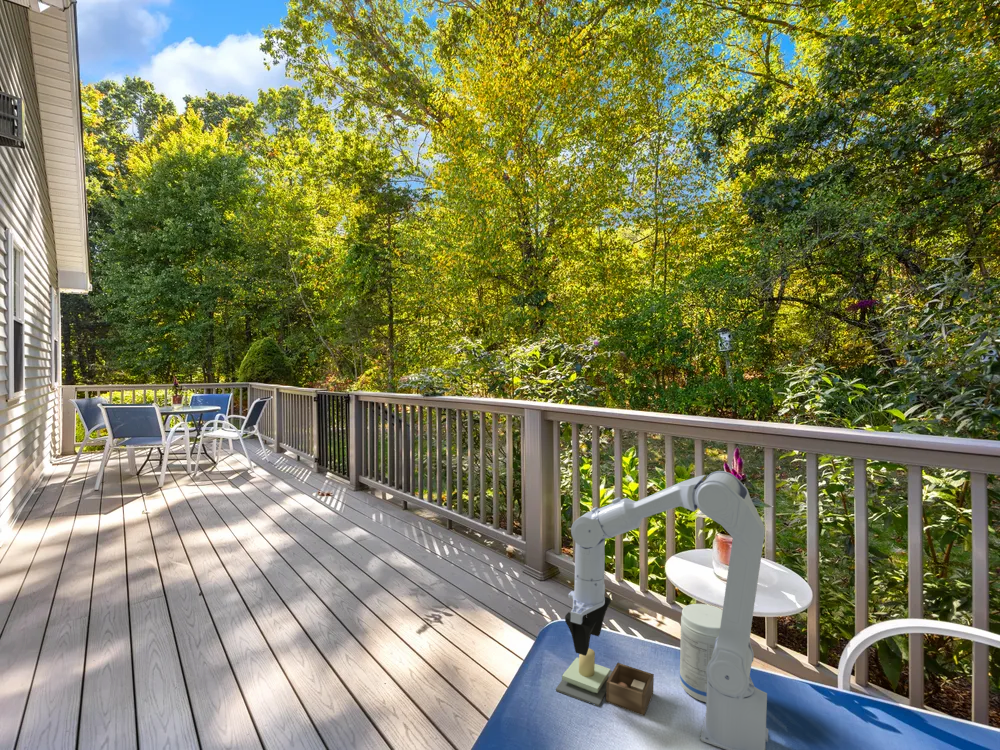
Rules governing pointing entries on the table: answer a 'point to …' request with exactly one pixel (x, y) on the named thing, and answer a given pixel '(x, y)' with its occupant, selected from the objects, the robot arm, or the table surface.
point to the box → (630, 688)
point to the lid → (586, 673)
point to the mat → (583, 692)
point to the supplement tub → (697, 646)
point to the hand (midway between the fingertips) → (587, 643)
